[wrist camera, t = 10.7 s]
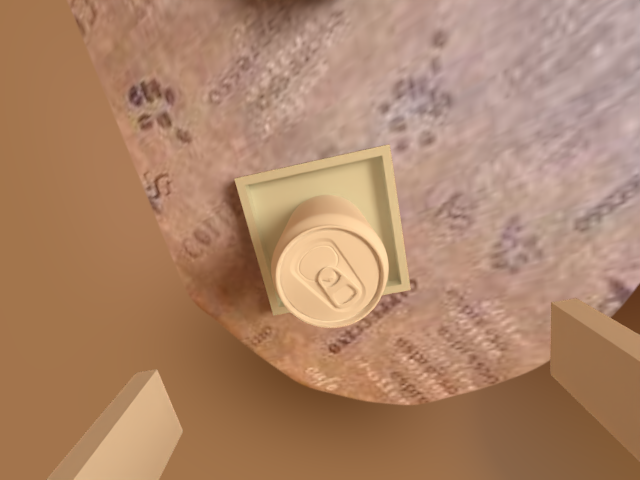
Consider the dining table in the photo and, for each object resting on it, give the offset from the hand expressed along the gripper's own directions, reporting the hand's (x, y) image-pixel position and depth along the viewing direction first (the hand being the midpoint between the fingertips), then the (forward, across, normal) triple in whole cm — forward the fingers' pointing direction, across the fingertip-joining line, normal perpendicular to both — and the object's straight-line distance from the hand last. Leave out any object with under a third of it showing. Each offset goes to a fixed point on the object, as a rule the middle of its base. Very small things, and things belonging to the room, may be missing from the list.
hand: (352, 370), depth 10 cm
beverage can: (+22, -1, -1) cm, 22 cm away
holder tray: (+22, -1, -1) cm, 22 cm away
